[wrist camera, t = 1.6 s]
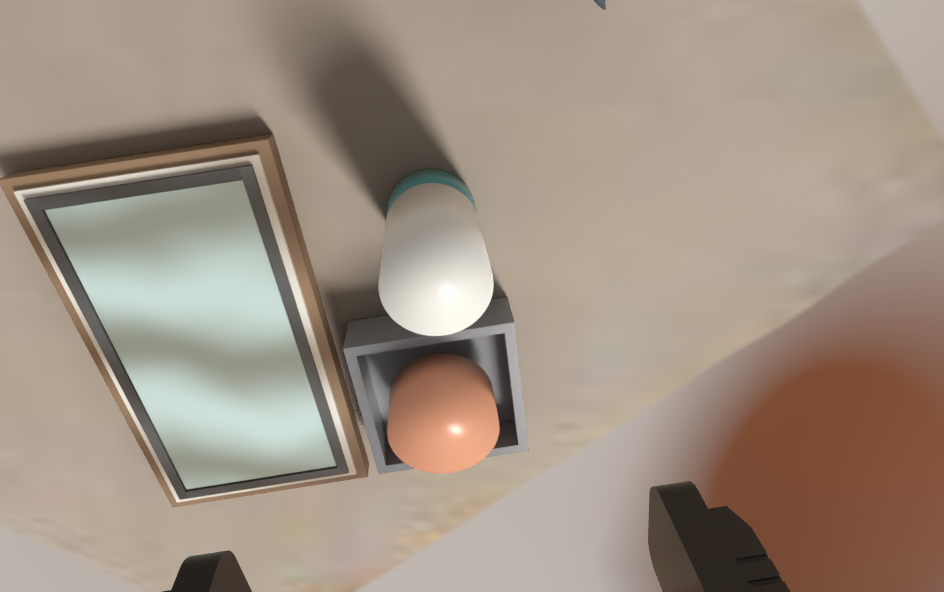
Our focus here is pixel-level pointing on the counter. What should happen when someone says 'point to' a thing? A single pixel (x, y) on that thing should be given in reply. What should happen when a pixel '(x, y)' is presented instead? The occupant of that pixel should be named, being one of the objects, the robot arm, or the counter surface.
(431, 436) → the button
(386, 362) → the button housing
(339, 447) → the framed mirror
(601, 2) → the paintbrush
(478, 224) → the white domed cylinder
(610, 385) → the counter surface
